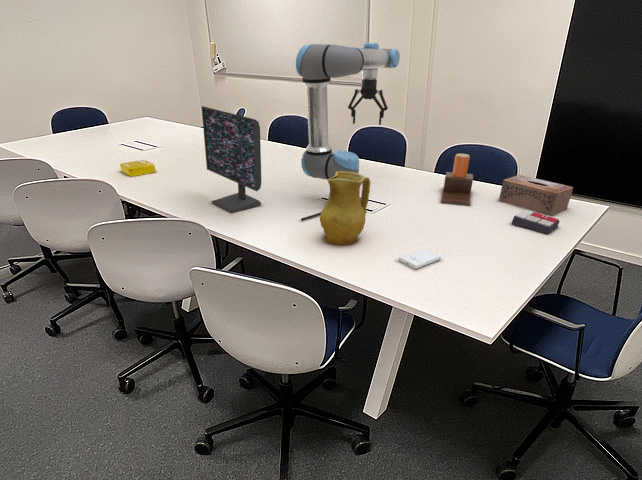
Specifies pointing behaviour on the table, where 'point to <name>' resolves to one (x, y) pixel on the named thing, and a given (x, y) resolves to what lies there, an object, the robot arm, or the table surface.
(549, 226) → the grey and red box
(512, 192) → the tissue box cover
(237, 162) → the computer monitor
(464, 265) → the table surface
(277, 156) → the table surface
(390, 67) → the robot arm
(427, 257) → the hard drive
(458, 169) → the canister
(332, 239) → the pitcher
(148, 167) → the element tile
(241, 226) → the table surface
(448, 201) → the brown wooden step stand
